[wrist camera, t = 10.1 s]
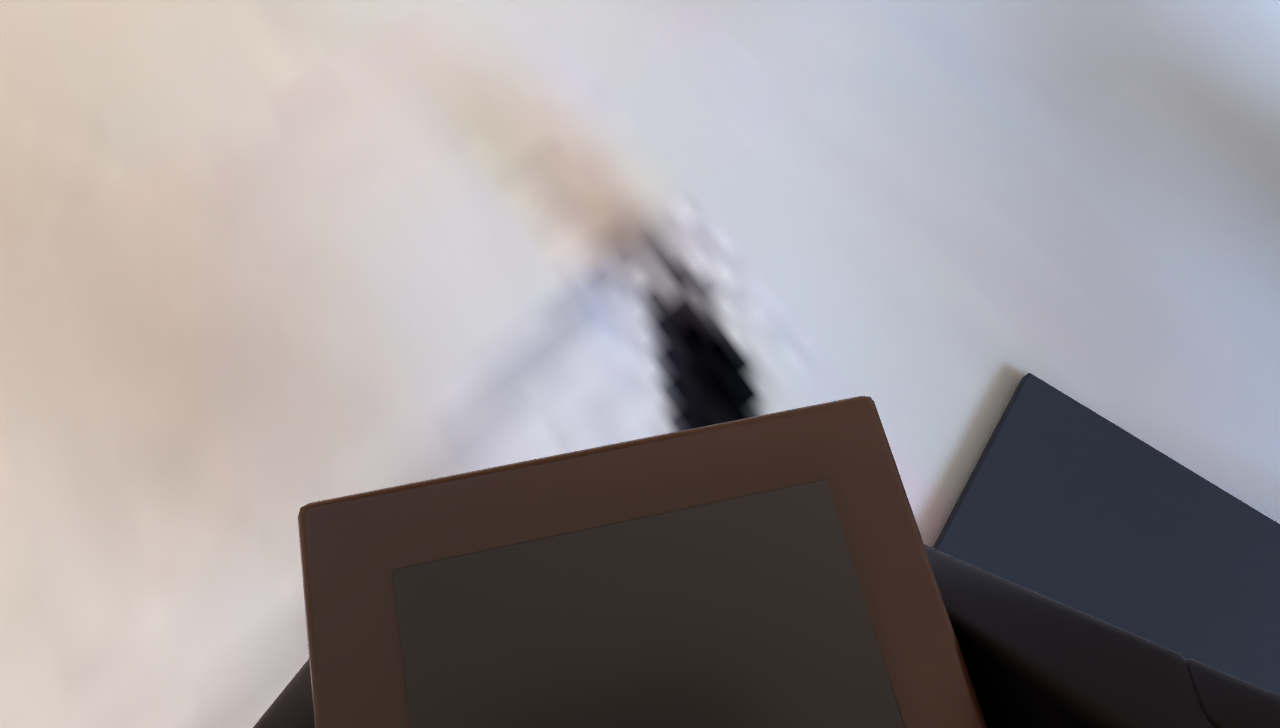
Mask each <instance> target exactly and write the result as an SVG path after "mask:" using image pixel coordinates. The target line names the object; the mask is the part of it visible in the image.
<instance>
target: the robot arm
mask: <svg viewBox="0 0 1280 728" xmlns="http://www.w3.org/2000/svg"><path fill="white" fill-rule="evenodd" d="M924 547H925V549H926V552H927V555H928V558H929V561H930V564H931V567H932V569H933V572H934V575H935V578H936V581H937V584H938V587H939V590H940V592H941V595H942V598H943V601H944V604H945V607H946V610H947V612H948V615H949V618H950V621H951V624H952V627H953V630H954V633H955V635H956V638H957V641H958V644H959V647H960V650H961V653H962V655H963V658H964V661H965V664H966V667H967V670H968V673H969V676H970V678H971V681H972V684H973V687H974V690H975V693H976V696H977V698H978V701H979V704H980V707H981V710H982V713H983V716H984V719H985V721H986V724H987V727H988V728H1280V695H1277V694H1275V693H1273V692H1270V691H1268V690H1265V689H1263V688H1260V687H1258V686H1255V685H1253V684H1251V683H1248V682H1246V681H1243V680H1241V679H1238V678H1236V677H1233V676H1231V675H1229V674H1226V673H1224V672H1222V671H1219V670H1217V669H1215V668H1212V667H1210V666H1208V665H1205V664H1203V663H1201V662H1198V661H1196V660H1194V659H1187V660H1186V661H1185V660H1184V658H1183V656H1182V655H1181V654H1179V653H1177V652H1174V651H1172V650H1170V649H1167V648H1165V647H1163V646H1160V645H1158V644H1156V643H1153V642H1151V641H1149V640H1146V639H1144V638H1142V637H1139V636H1137V635H1135V634H1132V633H1130V632H1128V631H1125V630H1123V629H1121V628H1118V627H1116V626H1114V625H1111V624H1109V623H1107V622H1104V621H1102V620H1100V619H1097V618H1095V617H1093V616H1090V615H1088V614H1086V613H1083V612H1081V611H1079V610H1076V609H1074V608H1072V607H1069V606H1067V605H1065V604H1062V603H1060V602H1058V601H1055V600H1053V599H1051V598H1048V597H1046V596H1044V595H1041V594H1039V593H1037V592H1034V591H1032V590H1030V589H1027V588H1025V587H1023V586H1020V585H1018V584H1016V583H1013V582H1011V581H1009V580H1006V579H1004V578H1002V577H999V576H997V575H994V574H992V573H990V572H987V571H985V570H983V569H980V568H978V567H976V566H973V565H971V564H969V563H966V562H964V561H962V560H959V559H957V558H955V557H952V556H950V555H948V554H945V553H943V552H941V551H938V550H936V549H934V548H931V547H929V546H927V545H924ZM253 728H315V723H314V711H313V699H312V686H311V674H310V661H309V659H308V661H307V662H306V663H305V664H304V665H303V667H302V668H301V669H300V670H299V672H298V673H297V674H296V675H295V677H294V678H293V679H292V680H291V681H290V683H289V684H288V685H287V686H286V688H285V689H284V690H283V691H282V693H281V694H280V695H279V696H278V697H277V699H276V700H275V701H274V702H273V704H272V705H271V706H270V707H269V709H268V710H267V711H266V712H265V713H264V715H263V716H262V717H261V718H260V720H259V721H258V722H257V723H256V725H255V726H254V727H253Z"/></svg>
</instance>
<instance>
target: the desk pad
mask: <svg viewBox="0 0 1280 728" xmlns="http://www.w3.org/2000/svg"><path fill="white" fill-rule="evenodd" d="M933 548H934V549H936V550H938V551H941V552H943V553H945V554H948V555H950V556H952V557H955V558H957V559H959V560H962V561H964V562H966V563H969V564H971V565H973V566H976V567H978V568H980V569H983V570H985V571H987V572H990V573H992V574H994V575H997V576H999V577H1002V578H1004V579H1006V580H1009V581H1011V582H1013V583H1016V584H1018V585H1020V586H1023V587H1025V588H1027V589H1030V590H1032V591H1034V592H1037V593H1039V594H1041V595H1044V596H1046V597H1048V598H1051V599H1053V600H1055V601H1058V602H1060V603H1062V604H1065V605H1067V606H1069V607H1072V608H1074V609H1076V610H1079V611H1081V612H1083V613H1086V614H1088V615H1090V616H1093V617H1095V618H1097V619H1100V620H1102V621H1104V622H1107V623H1109V624H1111V625H1114V626H1116V627H1118V628H1121V629H1123V630H1125V631H1128V632H1130V633H1132V634H1135V635H1137V636H1139V637H1142V638H1144V639H1146V640H1149V641H1151V642H1153V643H1156V644H1158V645H1160V646H1163V647H1165V648H1167V649H1170V650H1172V651H1174V652H1177V653H1179V654H1181V655H1182V656H1183V658H1184V660H1185V661H1186V660H1187V659H1194V660H1196V661H1198V662H1201V663H1203V664H1205V665H1208V666H1210V667H1212V668H1215V669H1217V670H1219V671H1222V672H1224V673H1226V674H1229V675H1231V676H1233V677H1236V678H1238V679H1241V680H1243V681H1246V682H1248V683H1251V684H1253V685H1255V686H1258V687H1260V688H1263V689H1265V690H1268V691H1270V692H1273V693H1275V694H1277V695H1280V524H1278V523H1276V522H1275V521H1273V520H1271V519H1270V518H1268V517H1266V516H1265V515H1263V514H1262V513H1260V512H1258V511H1257V510H1255V509H1253V508H1252V507H1250V506H1248V505H1247V504H1245V503H1243V502H1242V501H1240V500H1238V499H1237V498H1235V497H1233V496H1232V495H1230V494H1229V493H1227V492H1225V491H1224V490H1222V489H1220V488H1219V487H1217V486H1215V485H1214V484H1212V483H1210V482H1209V481H1207V480H1205V479H1204V478H1202V477H1200V476H1199V475H1197V474H1196V473H1194V472H1192V471H1191V470H1189V469H1187V468H1186V467H1184V466H1182V465H1181V464H1179V463H1177V462H1176V461H1174V460H1172V459H1171V458H1169V457H1167V456H1166V455H1164V454H1163V453H1161V452H1159V451H1158V450H1156V449H1154V448H1153V447H1151V446H1149V445H1148V444H1146V443H1144V442H1143V441H1141V440H1139V439H1138V438H1136V437H1134V436H1133V435H1131V434H1130V433H1128V432H1126V431H1125V430H1123V429H1121V428H1120V427H1118V426H1116V425H1115V424H1113V423H1111V422H1110V421H1108V420H1106V419H1105V418H1103V417H1101V416H1100V415H1098V414H1097V413H1095V412H1093V411H1092V410H1090V409H1088V408H1087V407H1085V406H1083V405H1082V404H1080V403H1078V402H1077V401H1075V400H1073V399H1072V398H1070V397H1068V396H1067V395H1065V394H1064V393H1062V392H1060V391H1059V390H1057V389H1055V388H1054V387H1052V386H1050V385H1049V384H1047V383H1045V382H1044V381H1042V380H1040V379H1039V378H1037V377H1035V376H1034V375H1032V374H1031V373H1028V374H1027V375H1026V376H1024V377H1023V378H1022V380H1021V382H1020V384H1019V386H1018V388H1017V389H1016V391H1015V393H1014V395H1013V397H1012V399H1011V401H1010V403H1009V405H1008V407H1007V409H1006V410H1005V412H1004V414H1003V416H1002V418H1001V420H1000V422H999V424H998V426H997V428H996V429H995V431H994V433H993V435H992V437H991V439H990V441H989V443H988V445H987V447H986V448H985V450H984V452H983V454H982V456H981V458H980V460H979V462H978V464H977V466H976V468H975V469H974V471H973V473H972V475H971V477H970V479H969V481H968V483H967V485H966V487H965V488H964V490H963V492H962V494H961V496H960V498H959V500H958V502H957V504H956V506H955V507H954V509H953V511H952V513H951V515H950V517H949V519H948V521H947V523H946V525H945V527H944V528H943V530H942V532H941V534H940V536H939V538H938V540H937V542H936V544H935V546H934V547H933Z"/></svg>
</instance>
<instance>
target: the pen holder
mask: <svg viewBox="0 0 1280 728" xmlns="http://www.w3.org/2000/svg"><path fill="white" fill-rule="evenodd" d="M298 526H299V538H300V550H301V563H302V575H303V587H304V600H305V612H306V624H307V637H308V649H309V661H310V674H311V686H312V699H313V711H314V723H315V728H988V727H987V724H986V721H985V719H984V716H983V713H982V710H981V707H980V704H979V701H978V698H977V696H976V693H975V690H974V687H973V684H972V681H971V678H970V676H969V673H968V670H967V667H966V664H965V661H964V658H963V655H962V653H961V650H960V647H959V644H958V641H957V638H956V635H955V633H954V630H953V627H952V624H951V621H950V618H949V615H948V612H947V610H946V607H945V604H944V601H943V598H942V595H941V592H940V590H939V587H938V584H937V581H936V578H935V575H934V572H933V569H932V567H931V564H930V561H929V558H928V555H927V552H926V549H925V547H924V544H923V541H922V538H921V535H920V532H919V529H918V526H917V524H916V521H915V518H914V515H913V512H912V509H911V506H910V504H909V501H908V498H907V495H906V492H905V489H904V486H903V483H902V481H901V478H900V475H899V472H898V469H897V466H896V463H895V460H894V458H893V455H892V452H891V449H890V446H889V443H888V440H887V438H886V435H885V432H884V429H883V426H882V423H881V420H880V417H879V415H878V412H877V409H876V406H875V403H874V401H873V400H872V399H871V397H866V396H859V397H854V398H849V399H843V400H838V401H833V402H828V403H823V404H818V405H812V406H807V407H802V408H797V409H792V410H787V411H782V412H776V413H771V414H766V415H761V416H756V417H751V418H745V419H740V420H735V421H730V422H725V423H720V424H715V425H709V426H704V427H699V428H694V429H689V430H684V431H678V432H673V433H668V434H663V435H658V436H653V437H648V438H642V439H637V440H632V441H627V442H622V443H617V444H611V445H606V446H601V447H596V448H591V449H586V450H581V451H575V452H570V453H565V454H560V455H555V456H550V457H544V458H539V459H534V460H529V461H524V462H519V463H513V464H508V465H503V466H498V467H493V468H488V469H483V470H477V471H472V472H467V473H462V474H457V475H452V476H446V477H441V478H436V479H431V480H426V481H421V482H416V483H410V484H405V485H400V486H395V487H390V488H385V489H379V490H374V491H369V492H364V493H359V494H354V495H349V496H343V497H338V498H333V499H328V500H323V501H318V502H312V503H309V504H307V505H305V506H303V507H301V508H300V512H299V515H298Z"/></svg>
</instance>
